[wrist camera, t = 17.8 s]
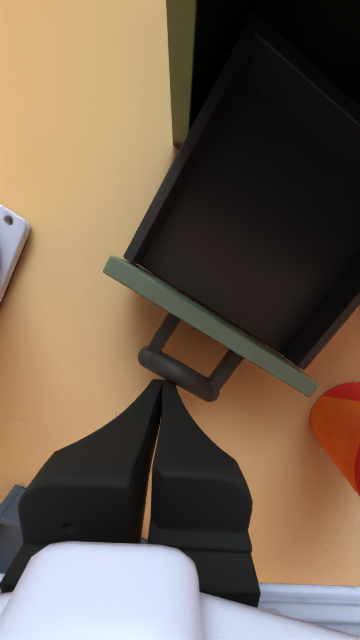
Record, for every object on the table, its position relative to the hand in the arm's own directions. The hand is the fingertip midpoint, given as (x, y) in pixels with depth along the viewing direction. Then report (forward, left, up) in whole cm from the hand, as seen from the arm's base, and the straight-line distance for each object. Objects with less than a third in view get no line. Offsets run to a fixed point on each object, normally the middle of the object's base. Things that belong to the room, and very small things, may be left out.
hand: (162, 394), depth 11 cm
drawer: (0, +9, -1) cm, 9 cm away
